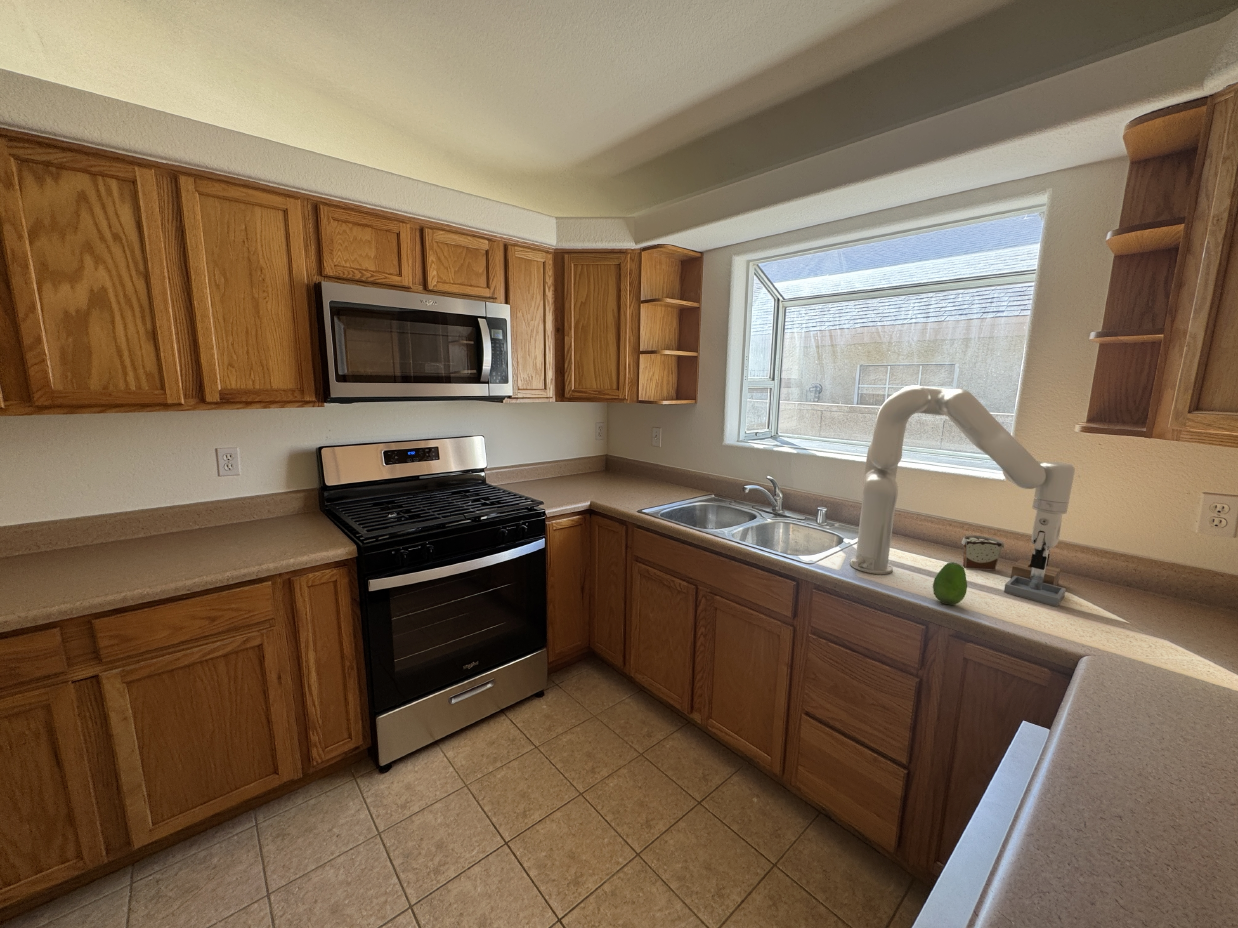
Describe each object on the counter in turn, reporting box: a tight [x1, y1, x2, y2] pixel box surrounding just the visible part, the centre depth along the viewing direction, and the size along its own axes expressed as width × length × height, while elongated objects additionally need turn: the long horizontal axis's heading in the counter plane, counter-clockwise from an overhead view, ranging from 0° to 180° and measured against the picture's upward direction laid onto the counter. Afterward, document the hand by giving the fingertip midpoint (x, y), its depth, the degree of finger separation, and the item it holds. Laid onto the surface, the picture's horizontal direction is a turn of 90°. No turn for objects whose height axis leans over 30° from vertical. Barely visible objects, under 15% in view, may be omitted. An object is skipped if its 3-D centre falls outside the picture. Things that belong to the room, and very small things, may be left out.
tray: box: [1003, 575, 1067, 608], centre depth 145 cm, size 11×12×2 cm
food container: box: [961, 534, 1005, 571], centre depth 166 cm, size 12×6×10 cm, turn 84°
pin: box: [1028, 548, 1050, 590], centre depth 144 cm, size 3×3×12 cm
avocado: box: [932, 562, 968, 605], centre depth 137 cm, size 8×8×12 cm
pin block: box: [1010, 558, 1062, 586], centre depth 154 cm, size 10×10×5 cm
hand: (1038, 566), depth 144 cm, fingers closed on pin, 3 cm apart
